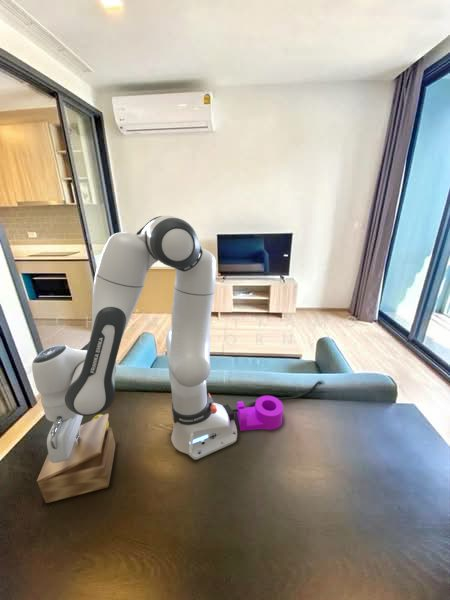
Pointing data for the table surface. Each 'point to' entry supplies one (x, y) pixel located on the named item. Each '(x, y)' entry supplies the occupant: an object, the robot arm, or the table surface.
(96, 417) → the lemon
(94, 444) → the lid
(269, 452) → the table surface
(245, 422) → the magenta bearing bracket
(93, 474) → the chest
